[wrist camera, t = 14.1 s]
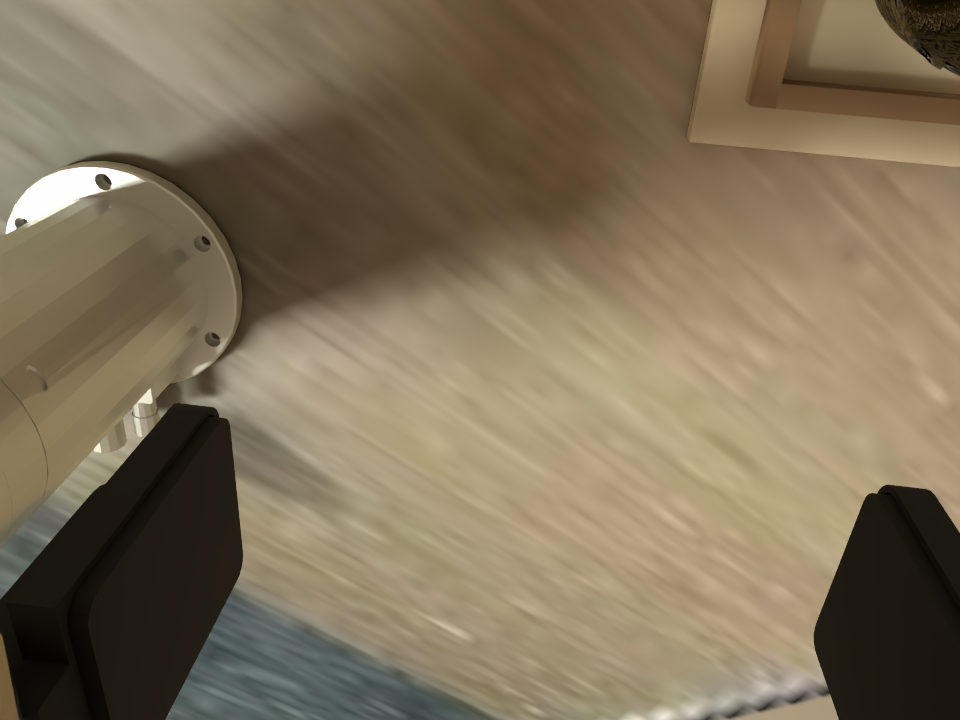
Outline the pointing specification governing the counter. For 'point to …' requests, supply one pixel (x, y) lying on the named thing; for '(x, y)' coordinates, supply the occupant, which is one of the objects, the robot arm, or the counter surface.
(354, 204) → the counter surface
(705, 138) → the square wooden tray
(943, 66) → the ornate lamp shade
